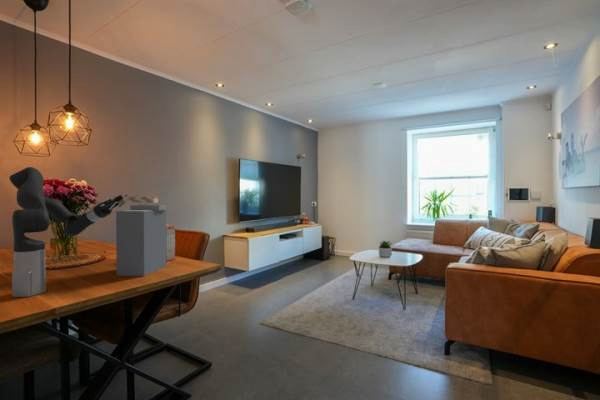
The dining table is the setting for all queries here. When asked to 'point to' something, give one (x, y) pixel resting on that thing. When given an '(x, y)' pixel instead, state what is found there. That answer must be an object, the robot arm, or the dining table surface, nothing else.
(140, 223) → the chute stand
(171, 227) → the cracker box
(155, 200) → the striped beige bar
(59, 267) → the dining table surface
